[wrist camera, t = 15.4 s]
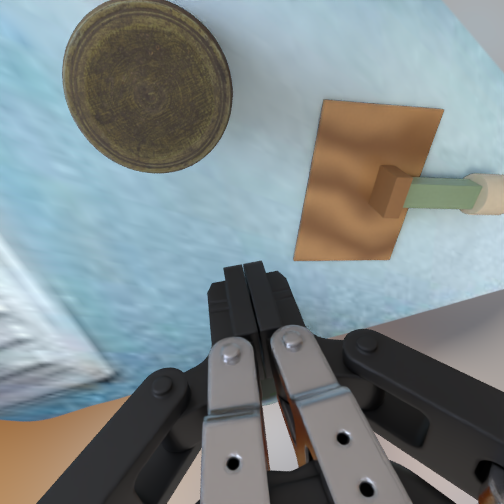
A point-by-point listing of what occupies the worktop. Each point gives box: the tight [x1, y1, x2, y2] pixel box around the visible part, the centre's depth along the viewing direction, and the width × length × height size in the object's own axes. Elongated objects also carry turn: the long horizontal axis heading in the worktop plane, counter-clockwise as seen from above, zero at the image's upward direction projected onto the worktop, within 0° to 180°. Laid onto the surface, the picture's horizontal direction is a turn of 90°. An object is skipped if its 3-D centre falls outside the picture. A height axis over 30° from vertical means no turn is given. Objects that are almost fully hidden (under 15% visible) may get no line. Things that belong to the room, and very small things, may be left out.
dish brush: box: [369, 165, 504, 219], centre depth 42 cm, size 5×5×16 cm
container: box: [62, 0, 233, 173], centre depth 25 cm, size 9×9×18 cm
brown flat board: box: [293, 100, 444, 261], centre depth 43 cm, size 20×14×1 cm
